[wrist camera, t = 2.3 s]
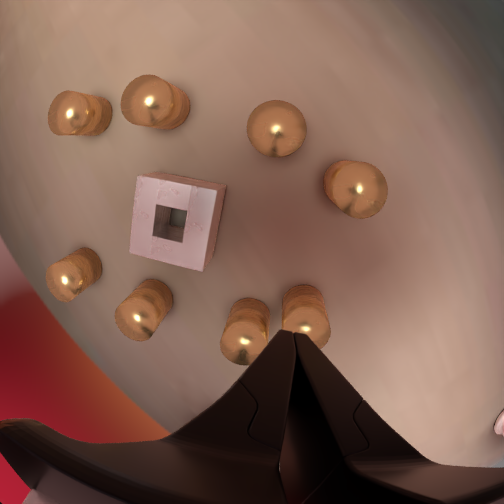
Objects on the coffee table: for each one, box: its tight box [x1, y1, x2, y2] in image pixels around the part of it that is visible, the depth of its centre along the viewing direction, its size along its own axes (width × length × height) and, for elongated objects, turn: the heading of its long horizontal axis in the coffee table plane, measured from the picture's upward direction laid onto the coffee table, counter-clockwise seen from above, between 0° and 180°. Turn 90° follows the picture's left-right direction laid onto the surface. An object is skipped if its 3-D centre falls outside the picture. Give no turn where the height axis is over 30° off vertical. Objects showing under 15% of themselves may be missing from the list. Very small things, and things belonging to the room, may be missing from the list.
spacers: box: [46, 75, 388, 365], centre depth 18 cm, size 17×22×4 cm
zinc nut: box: [130, 172, 227, 272], centre depth 19 cm, size 5×5×3 cm
